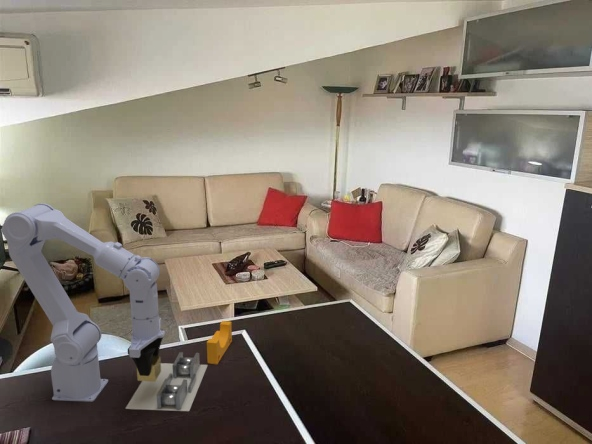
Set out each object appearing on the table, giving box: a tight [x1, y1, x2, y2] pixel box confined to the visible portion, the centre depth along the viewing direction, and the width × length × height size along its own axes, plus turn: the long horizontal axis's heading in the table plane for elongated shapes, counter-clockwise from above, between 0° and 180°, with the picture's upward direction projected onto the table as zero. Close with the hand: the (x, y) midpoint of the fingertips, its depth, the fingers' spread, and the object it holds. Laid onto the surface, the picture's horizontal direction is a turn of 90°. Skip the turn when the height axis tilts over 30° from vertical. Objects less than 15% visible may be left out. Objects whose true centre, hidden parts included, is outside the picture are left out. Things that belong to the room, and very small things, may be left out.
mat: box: [125, 362, 209, 412], centre depth 107 cm, size 14×18×1 cm
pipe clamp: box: [206, 320, 233, 365], centre depth 121 cm, size 12×4×6 cm, turn 170°
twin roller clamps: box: [157, 351, 201, 410], centre depth 106 cm, size 6×18×4 cm, turn 178°
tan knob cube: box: [136, 355, 162, 382], centre depth 103 cm, size 4×4×4 cm
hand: (148, 369), depth 103 cm, fingers closed on tan knob cube, 4 cm apart
